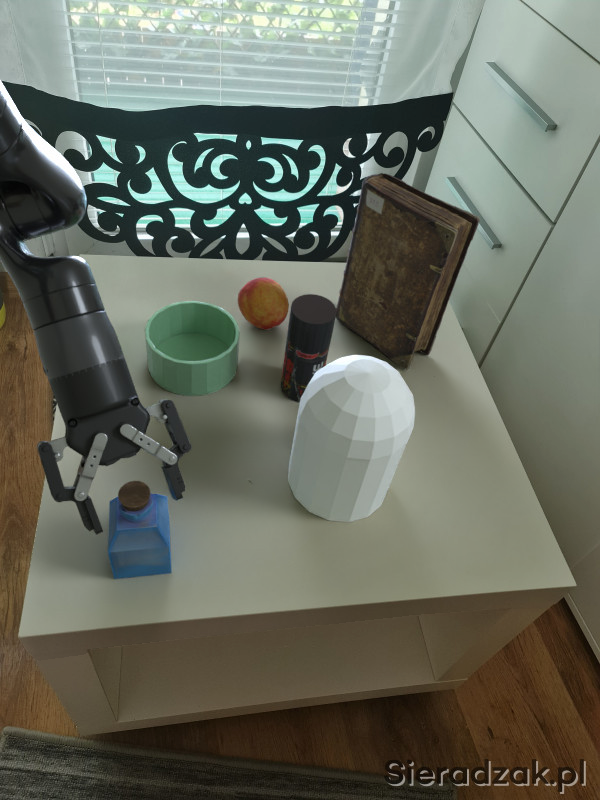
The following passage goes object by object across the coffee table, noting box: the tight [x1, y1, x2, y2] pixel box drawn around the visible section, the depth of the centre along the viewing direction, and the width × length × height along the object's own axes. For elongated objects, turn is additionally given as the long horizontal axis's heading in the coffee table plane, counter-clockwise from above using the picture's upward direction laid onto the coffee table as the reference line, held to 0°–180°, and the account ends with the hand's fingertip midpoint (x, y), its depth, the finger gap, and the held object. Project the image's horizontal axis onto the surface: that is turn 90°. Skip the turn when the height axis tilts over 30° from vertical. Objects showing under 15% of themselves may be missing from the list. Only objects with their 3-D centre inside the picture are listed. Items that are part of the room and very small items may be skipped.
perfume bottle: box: [107, 480, 172, 580], centre depth 66 cm, size 6×6×12 cm
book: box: [335, 172, 481, 371], centre depth 91 cm, size 17×7×25 cm, turn 42°
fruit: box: [237, 276, 290, 331], centre depth 96 cm, size 8×8×8 cm
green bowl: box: [144, 300, 241, 397], centre depth 89 cm, size 13×13×6 cm
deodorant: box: [279, 293, 337, 403], centre depth 85 cm, size 6×6×15 cm
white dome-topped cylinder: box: [287, 354, 416, 523], centre depth 73 cm, size 14×13×20 cm
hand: (139, 514), depth 63 cm, fingers open, 8 cm apart
